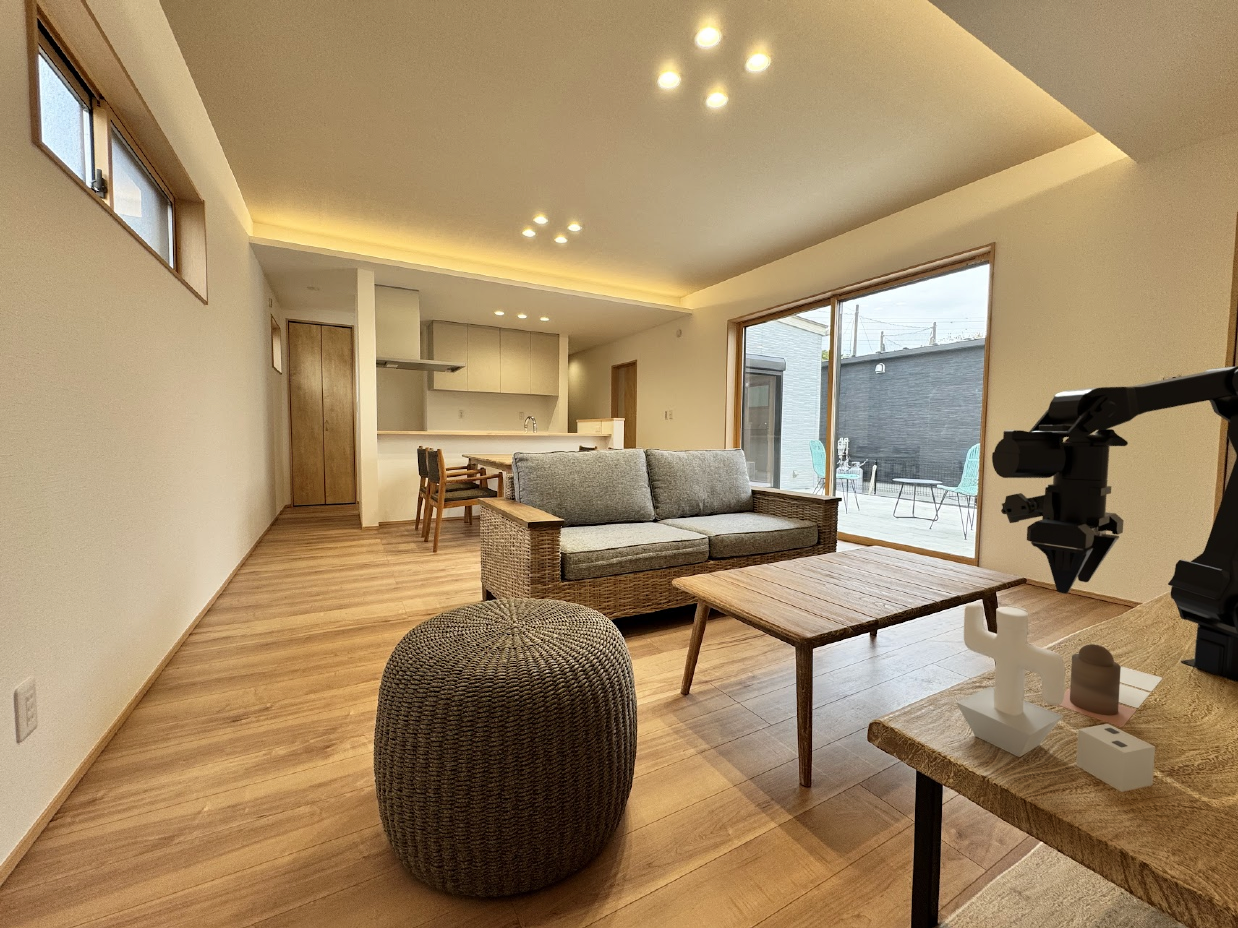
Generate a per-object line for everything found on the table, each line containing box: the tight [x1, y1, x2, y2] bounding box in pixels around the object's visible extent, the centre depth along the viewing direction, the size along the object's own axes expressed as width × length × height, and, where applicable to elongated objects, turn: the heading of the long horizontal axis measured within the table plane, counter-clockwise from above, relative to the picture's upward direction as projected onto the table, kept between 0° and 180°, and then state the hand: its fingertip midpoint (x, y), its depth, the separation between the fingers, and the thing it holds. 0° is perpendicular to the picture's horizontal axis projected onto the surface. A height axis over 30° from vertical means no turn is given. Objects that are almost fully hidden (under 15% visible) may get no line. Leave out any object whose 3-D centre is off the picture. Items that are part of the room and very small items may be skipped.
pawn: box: [1069, 643, 1121, 715], centre depth 64 cm, size 4×4×8 cm
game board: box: [1058, 665, 1164, 728], centre depth 68 cm, size 22×8×1 cm, turn 125°
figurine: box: [955, 602, 1066, 758], centre depth 57 cm, size 7×9×15 cm
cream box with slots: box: [1075, 723, 1156, 793], centre depth 52 cm, size 4×4×4 cm
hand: (1073, 586), depth 74 cm, fingers open, 9 cm apart
